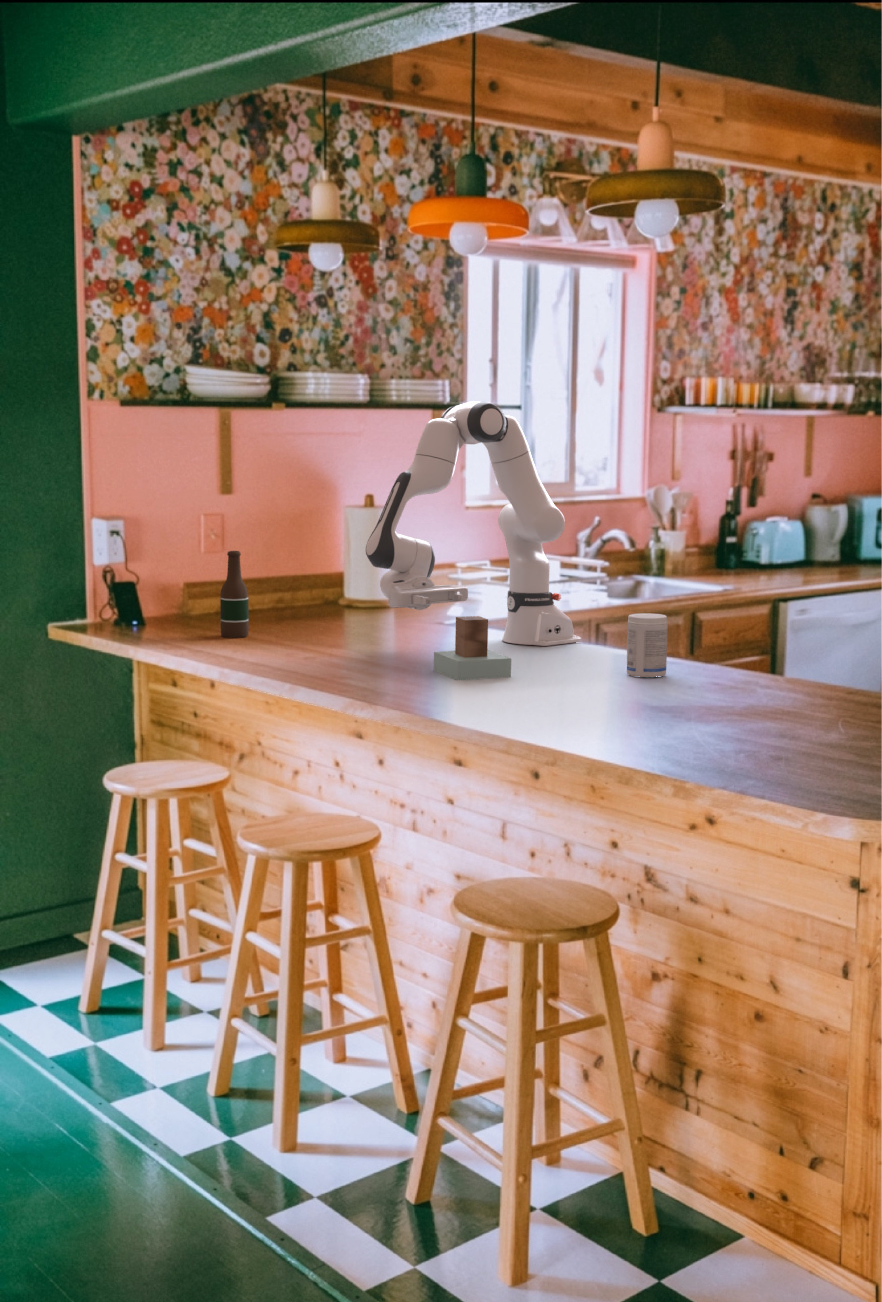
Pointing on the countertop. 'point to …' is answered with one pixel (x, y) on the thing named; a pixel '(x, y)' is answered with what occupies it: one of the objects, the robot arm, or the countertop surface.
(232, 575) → the beer bottle
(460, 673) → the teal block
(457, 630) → the walnut box
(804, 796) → the countertop surface
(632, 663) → the supplement tub
